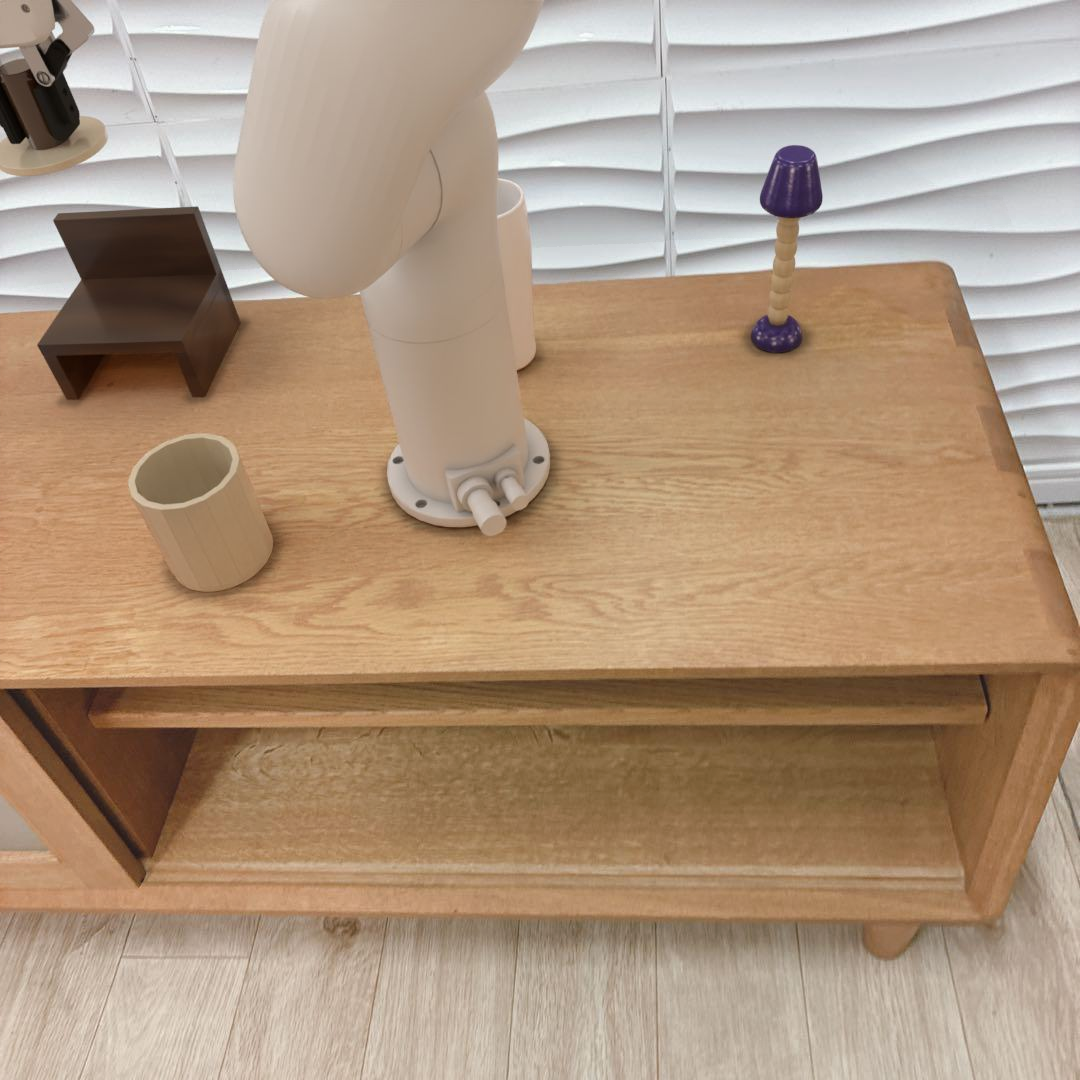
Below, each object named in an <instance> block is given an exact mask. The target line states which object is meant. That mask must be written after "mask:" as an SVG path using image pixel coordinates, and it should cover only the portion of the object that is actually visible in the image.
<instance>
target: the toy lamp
mask: <svg viewBox="0 0 1080 1080" xmlns="http://www.w3.org/2000/svg"><path fill="white" fill-rule="evenodd" d="M760 191H761V192H760V195H759V203H760V204H759V205H760V206H761V208H762V209H763V210H764V211H765V212H767V213H768V214H769V215H772V216H774V217H777V218H778V222H777V225H776V228H775V229H776V230H775V232H776V239H775V243H774V253H775V256H774V258H773V261H772V270H773V273H772V275H771V279H770V286H771V289H770V292H769V297H768V301H769V303H770V304H769V306H768V308H767V314H765V315H763V316H762V317H760V318H759V319H758V320H757V321H756V323H755V324H754V325H753V327H752V330H751V332H750V339H751V342H752V343H753V344H754V345H755V346H756V347H757V348H759V349H760V350H761V351H764V352H768V353H769V352H770V353H786V352H791V351H792V350H794V349H796V348H797V347H799V346H800V345H801V343H802V341H803V332H802V328H801V326H800V324H799V322H798V320H796V319H795V318H794V317H792V316H791V315H789V314H790V308H789V305H790V302H791V299H792V292H791V289H792V287H793V284H794V274H793V273H794V271H795V269H796V258H795V256H796V254H797V251H798V240H797V238H798V237H799V233H800V224H799V221H800V219H801V218H805V217H808V216H810V215H813V214H815V213H816V212H817V211H818V210H819V209H820V208H821V206H822V204H823V190H822V182H821V175H820V168H819V164H818V157H817V155H816V153H815V151H814V150H813V149H812V148H811V147H807V146H805V145H799V144H790V145H786V146H783V147H781V148H779V149H778V150H777V151H776V153H775V154H774V156H773V159H772V161H771V164H770V167H769V168H768V172H767V174H766V177H765V180H764V183H763V185H762V187H761V190H760Z"/></svg>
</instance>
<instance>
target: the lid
mask: <svg viewBox="0 0 1080 1080" xmlns="http://www.w3.org/2000/svg"><path fill="white" fill-rule="evenodd" d="M0 82H1V85H2V87H3V89H4V91H5V93H6V95H7V97H8V100H9V102H10V104H11V106H12V108H13V110H14V112H15V115H16V117H17V119H18V121H19V123H20V125H21V127H22V130H23V132H24V134H25V136H26V138H25V139H24V140H23V141H22V142H21V143H20V144H11V143H10V141H9V139H8V137H7V136H6V137H4V139H3V140H1V141H0V171H1V172H3V173H5V174H7V175H10V176H16V177H35V176H44V175H48V174H49V175H50V174H53V173H57V172H61V171H65V170H67V169H70V168H72V167H76V166H77V165H80V164H82V163H83V162H86V161H87V160H89V159H91V158H93V156H95V155H97V154H98V153H99V152H100V151H101V150H102V149H103V148H104V146H106V144H107V142H108V139H109V133H108V130H107V128H106V126H105V124H104V122H103V121H102V120H100V119H98V118H96V117H92V116H87V115H80V118H79V119H80V125H79V126H78V127H77V129H76V130H75V131H74V132H73V133H72V135H71V136H70V137H69V138H68V140H67V141H61V142H58V141H57V140H55V139H54V137H53V135H52V132H51V130H50V128H49V126H48V123H47V121H46V119H45V117H44V114H43V112H42V110H41V108H40V106H39V103H38V101H37V99H36V97H35V94H34V88H35V87H36V86H37V85H38V82H37V80H36V79H35V77H34V75H33V73H32V71H31V69H30V67H29V65H28V64H27V62H26V60H25V58H18V59H14V60H13V59H12V60H10V61H7V62H5V63H2V65H1V66H0Z"/></svg>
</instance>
